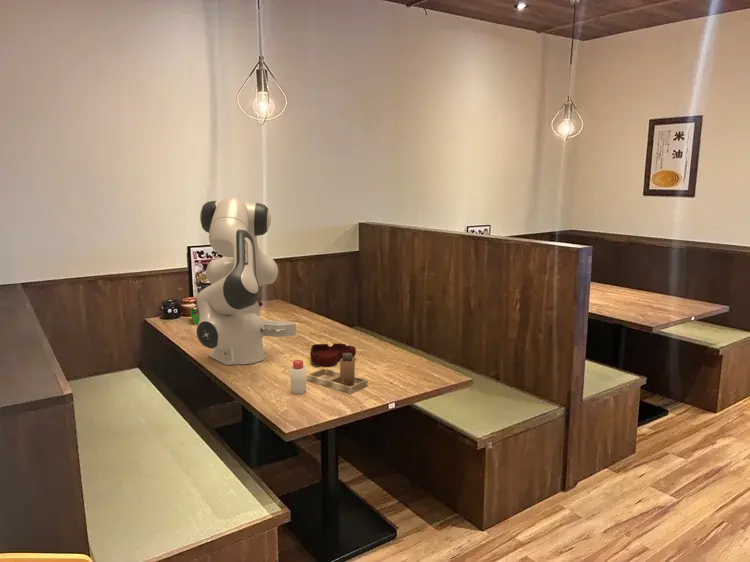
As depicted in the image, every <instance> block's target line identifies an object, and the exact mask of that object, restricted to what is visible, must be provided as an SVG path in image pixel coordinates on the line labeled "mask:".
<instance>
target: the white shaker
mask: <svg viewBox="0 0 750 562" xmlns="http://www.w3.org/2000/svg"><path fill="white" fill-rule="evenodd" d="M290 392H291V394H293V395H301V394H302V395H303V394H305V393H307V366H306V365H304V361H303V360H302V359H296V360H293V361H292V366H290Z"/></svg>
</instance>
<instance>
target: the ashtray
mask: <svg viewBox="0 0 750 562" xmlns="http://www.w3.org/2000/svg"><path fill="white" fill-rule="evenodd" d="M343 353H352V358H353V359H354V357H355V356H356V353H357V349H356V346H354V345H349V344H348V345H347V344H346V343H333V344H332V346H329V344H328V343H317V344H316V343H315V344H312V345H311V348H310V352H309V354H310V355H309V356H310V359H311V362H312V363H314V364H315V365H318V366H320V367H331V366H333V365H336V363H338V362H340V359H342V358H343Z"/></svg>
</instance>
